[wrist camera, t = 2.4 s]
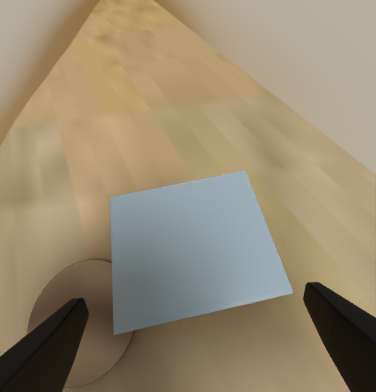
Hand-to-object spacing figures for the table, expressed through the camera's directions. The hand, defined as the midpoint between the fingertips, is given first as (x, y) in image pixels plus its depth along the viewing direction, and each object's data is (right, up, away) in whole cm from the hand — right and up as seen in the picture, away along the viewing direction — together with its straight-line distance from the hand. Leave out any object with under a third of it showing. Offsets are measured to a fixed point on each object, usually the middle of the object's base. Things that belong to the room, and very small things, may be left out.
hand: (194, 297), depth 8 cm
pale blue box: (0, -3, +10) cm, 10 cm away
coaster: (-9, -6, +9) cm, 14 cm away
